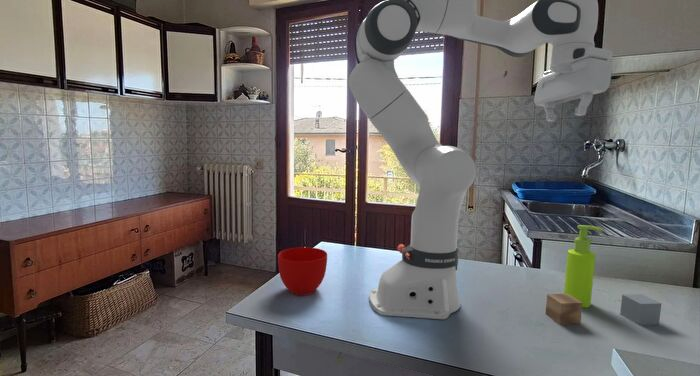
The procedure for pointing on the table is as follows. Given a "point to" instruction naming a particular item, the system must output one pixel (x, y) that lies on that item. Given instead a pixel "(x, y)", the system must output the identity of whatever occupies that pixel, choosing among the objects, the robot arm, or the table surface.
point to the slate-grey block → (640, 309)
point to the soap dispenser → (580, 267)
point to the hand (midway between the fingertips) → (564, 118)
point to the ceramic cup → (302, 269)
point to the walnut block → (563, 309)
